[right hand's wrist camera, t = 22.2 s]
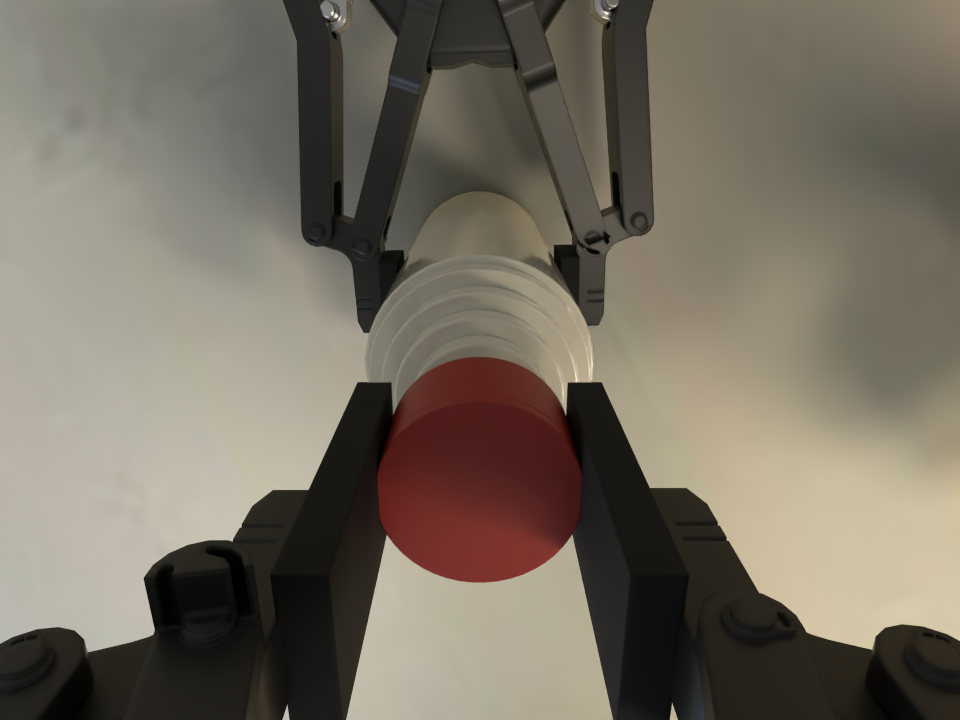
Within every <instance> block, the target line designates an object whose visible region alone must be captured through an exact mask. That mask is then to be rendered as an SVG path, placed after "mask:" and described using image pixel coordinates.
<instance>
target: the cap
mask: <svg viewBox="0 0 960 720" xmlns="http://www.w3.org/2000/svg"><path fill="white" fill-rule="evenodd" d="M377 480H378V496H379V512H380V521H381V524H382V526H383V528H384V530H385V532H386V533H387V535H388V537H389V538H390V539H391V541H392V542H393V544H394V545H395V546H396V547H397V548H398V549H399V550H400V551H401V552H402V553H403V554H404V555H405V556H406V557H407V558H409V559H410V560H411V561H412V562H414V563H415V564H417V565H419V566H420V567H422V568H424V569H426V570H428V571H430V572H432V573H434V574H437V575H439V576H442V577H445V578H449V579H453V580H458V581H465V582H495V581H501V580H506V579H511V578H514V577H517V576H520V575H523V574H525V573H527V572H529V571H532V570H534V569H535V568H537V567H539V566H540V565H542V564H544V563H545V562H546V561H548V560H549V559H550V558H552V557H553V556H554V555H555V554H556V553H557V552H558V551H559V550H560V549H561V548H562V547H563V546H564V545H565V543H566V542H567V541H568V540H569V538H570V537H571V535H572V533H573V532H574V530H575V528H576V526H577V524H578V521H579V516H580V501H581V485H582V470H581V466H580V462H579V459H578V455H577V452H576V448H575V445H574V441H573V438H572V434H571V431H570V427H569V424H568V420H567V417H566V414H565V412H564V409H563V406H562V404H561V403H560V401H559V399H558V397H557V396H556V394H555V393H554V392H553V390H552V389H551V388H550V387H549V386H548V385H547V384H546V383H545V382H544V381H543V380H542V379H541V378H540V377H538V376H537V375H536V374H534V373H533V372H531V371H530V370H528V369H526V368H524V367H522V366H520V365H518V364H515V363H513V362H510V361H506V360H502V359H498V358H491V357H469V358H461V359H457V360H453V361H449V362H447V363H444V364H441V365H439V366H437V367H435V368H433V369H431V370H429V371H428V372H426V373H425V374H424V375H422V376H421V377H419V378H418V379H417V380H416V381H415V382H414V383H413V384H412V385H411V386H410V387H409V388H408V389H407V391H406V392H405V393H404V394H403V396H402V398H401V399H400V401H399V403H398V405H397V407H396V409H395V412H394V414H393V418H392V421H391V425H390V428H389V432H388V435H387V438H386V442H385V445H384V449H383V452H382V456H381V459H380V462H379V466H378V470H377Z"/></svg>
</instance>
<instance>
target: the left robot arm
mask: <svg viewBox="0 0 960 720" xmlns="http://www.w3.org/2000/svg"><path fill="white" fill-rule="evenodd" d="M353 1H354V0H283V2H284V5H285V8H286V11H287V14H288V16H289V19H290V22H291V25H292V28H293V31H294V34H295V37H296V40H297V61H298V102H299V144H300V186H301V227H302V235H303V238H304V239H305V241H306V242H307V243H309V244H310V245H312V246H316V247H319V246H325V247H328V248H331V249H334V250H337V251H340V252H342V253H343V254H345V255H346V256H347V257H348V258H349V259H350V261H351V263H352V267H353V276H354V286H355V295H356V305H357V315H358V323H359V324H360V326H361V328H362V330H363V332H364V333H370V330H371V327H372V325H373V322H374V320H375V317H376V315H377V313H378V311H379V309H380V307H381V306H382V304H383V302H384V300H385V298H386V296H387V294H388V292H389V290H390V288H391V286H392V284H393V283H394V281H395V279H396V277H397V275H398V273H399V271H400V269H401V267H402V265H403V263H404V250H391V251H386V252H385V242H386V240H387V234H388V230H389V226H390V222H391V219H392V215H393V211H394V208H395V204H396V200H397V196H398V193H399V189H400V185H401V182H402V178H403V174H404V171H405V167H406V163H407V159H408V156H409V152H410V148H411V145H412V141H413V137H414V134H415V130H416V126H417V122H418V119H419V115H420V111H421V108H422V104H423V100H424V97H425V94H426V92H427V89H428V85H429V82H430V78H431V75H432V71H433V69H434V70H443V69H455V68H458V67H461V66H464V65H467V64H470V63H476V64H480V65H484V66H488V67H492V68H499V67H512V66H513V69H514V72H515V74H516V77H517V80H518V83H519V86H520V88H521V90H522V93H523V95H524V98H525V101H526V104H527V107H528V110H529V112H530V115H531V118H532V121H533V124H534V127H535V130H536V133H537V136H538V139H539V142H540V144H541V147H542V150H543V153H544V156H545V159H546V162H547V165H548V168H549V171H550V173H551V176H552V179H553V182H554V185H555V188H556V191H557V194H558V197H559V200H560V202H561V205H562V208H563V211H564V214H565V217H566V220H567V223H568V226H569V229H570V231H571V234H572V245H554V261H555V263H556V265H557V267H558V269H559V270H560V272H561V274H562V276H563V278H564V280H565V282H566V284H567V286H568V288H569V290H570V292H571V294H572V296H573V298H574V299H575V301H576V303H577V305H578V307H579V309H580V311H581V313H582V315H583V317H584V319H585V321H586V324H587V326H592V325H599V323H600V321H601V319H602V316H603V314H604V286H605V259H606V254H607V252H608V251H609V250H610V248H611V246H613V245H614V244H615V243H617V242H619V241H621V240H624V239H626V238H629V237H632V236H641V235H644V234H646V233H647V232H649V231H650V230H651V228H652V226H653V223H654V205H653V182H652V159H651V136H650V113H649V90H648V67H647V44H646V26H647V23H648V19H649V15H650V12H651V8H652V4H653V1H654V0H590V13H591V15H592V17H593V19H594V20H596V21H597V22H599V23H601V24H604V26H603V34H602V62H603V78H604V93H605V108H606V124H607V139H608V154H609V169H610V185H611V200H612V206H611V207H608V208H606V209H603V210H601V211H600V208H599V205H598V202H597V199H596V196H595V193H594V189H593V186H592V183H591V180H590V177H589V174H588V171H587V168H586V165H585V162H584V159H583V156H582V153H581V149H580V146H579V143H578V140H577V137H576V134H575V131H574V128H573V125H572V122H571V119H570V116H569V113H568V109H567V106H566V103H565V100H564V97H563V94H562V91H561V88H560V85H559V82H558V78H557V73H556V68H555V64H554V61H553V58H552V55H551V52H550V49H549V46H548V42H547V39H546V36H545V32H546V31H547V29H548V27H549V26H550V24H551V23H552V21H553V20H554V18H555V16H556V15H557V13H558V12H559V10H560V9H561V7H562V6H563V4H564V2H565V1H566V0H370V1H371V3H372V4H373V6H374V7H375V8H376V10H377V11H378V12H379V14H380V15H381V16H382V18H383V19H384V20H385V22H386V23H387V24H388V26H389V27H390V29H391V30H392V31H393V33H394V34H395V35H396V37H397V38H398V39H397V43H396V47H395V51H394V55H393V59H392V63H391V67H390V71H389V78H388V87H387V91H386V95H385V99H384V103H383V107H382V111H381V115H380V119H379V123H378V127H377V131H376V135H375V139H374V143H373V147H372V151H371V155H370V159H369V163H368V167H367V171H366V175H365V179H364V183H363V187H362V191H361V195H360V199H359V203H358V207H357V211H356V215H355V219H354V218H351V217H348V216H345V215H343V51H342V45H341V38H340V33H342V32H344V31H346V30H347V29H348V28H349V26H350V24H351V21H352V10H351V7H352V3H353Z"/></svg>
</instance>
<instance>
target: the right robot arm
mask: <svg viewBox="0 0 960 720" xmlns="http://www.w3.org/2000/svg"><path fill="white" fill-rule="evenodd" d="M566 417H567V420H568V424H569V427H570V431H571V434H572V438H573V441H574V445H575V448H576V452H577V455H578V459H579V462H580V466H581V470H582V485H581V501H580V516H579V521H578V524H577V526H576V528H575V530H574V532H573V533H572V534H573V539H574V543H575V548H576V552H577V557H578V562H579V566H580V571H581V575H582V580H583V584H584V589H585V593H586V598H587V602H588V607H589V611H590V616H591V621H592V625H593V630H594V634H595V639H596V643H597V648H598V652H599V657H600V661H601V666H602V670H603V675H604V680H605V684H606V689H607V693H608V698H609V702H610V707H611V711H612V716H613V720H670V713H671V706H672V703H673V706H674V709H675V712H676V715H677V718H678V720H960V641H959V640H957V639H955V638H953V637H951V636H949V635H947V634H944V633H941V632H938V631H935V630H932V629H929V628H926V627H921V626H912V625H897V626H892V627H887V628H885V629H884V630H882V631H881V632H880V633H879V634H878V635H877V636H876V638H875V642H874V646H873V649H872V650H870V649H866V648H861V647H857V646H853V645H849V644H844V643H840V642H836V641H831V640H827V639H824V638H821V637H817V636H814V635H811V634H809V633H807V632H806V631H805V629H804V627H803V625H802V624H801V622H800V621H799V619H798V618H797V616H796V615H795V614H794V613H793V612H791V611H790V610H789V609H788V608H787V607H785V606H784V605H783V604H782V603H780V602H778V601H776V600H774V599H772V598H770V597H768V596H766V595H764V594H761V593H759V592H758V590H757V589H756V587H755V585H754V583H753V582H752V580H751V578H750V577H749V575H748V573H747V571H746V570H745V568H744V566H743V565H742V563H741V561H740V560H739V558H738V556H737V554H736V553H735V551H734V549H733V548H732V546H731V544H730V542H729V541H727V539H726V538H727V537H726V536H725V534H724V532H723V530H722V529H721V527H720V526H718V522H717V520H716V518H715V517H714V515H713V513H712V512H711V510H710V508H709V506H708V505H707V504H706V503H705V502H704V501H703V500H701V499H700V498H699V497H697V496H696V495H695V494H693V493H692V492H691V491H690V490H688V489H687V488H649V486H648V483H647V481H646V479H645V477H644V475H643V472H642V470H641V468H640V466H639V464H638V461H637V459H636V457H635V455H634V453H633V450H632V448H631V446H630V444H629V442H628V439H627V437H626V435H625V433H624V431H623V428H622V426H621V424H620V422H619V420H618V418H617V415H616V413H615V411H614V409H613V407H612V404H611V402H610V400H609V398H608V396H607V393H606V391H605V389H604V387H603V385H602V382H568V386H567V406H566ZM392 418H393V400H392V382H358V383H357V385H356V387H355V390H354V392H353V394H352V396H351V398H350V400H349V403H348V405H347V407H346V409H345V411H344V414H343V416H342V418H341V420H340V422H339V425H338V427H337V429H336V431H335V433H334V436H333V438H332V440H331V442H330V444H329V447H328V449H327V451H326V453H325V455H324V458H323V460H322V462H321V464H320V466H319V469H318V471H317V473H316V475H315V477H314V480H313V482H312V484H311V486H310V488H309V490H273V491H271V492H270V493H269V494H267V495H266V496H265V497H263V498H262V499H261V500H260V501H258V502H257V503H256V504H254V505H253V506H252V508H251V509H250V511H249V513H248V515H247V516H246V518H245V520H244V521H243V523H242V528H239V530H238V532H237V534H236V535H235V537H234V539H233V542H232V541H228V540H209V541H204V542H199V543H195V544H190V545H187V546H185V547H182V548H180V549H178V550H176V551H173V552H171V553H169V554H167V555H166V556H165V557H163V558H162V559H161V560H159V561H158V562H157V563H155V564H154V565H153V566H152V567H151V569H150V570H149V571H148V573H147V574H146V576H145V577H144V582H145V587H146V591H147V596H148V600H149V605H150V609H151V614H152V619H153V623H154V628H155V632H154V635H152V636H150V637H147V638H144V639H141V640H138V641H134V642H131V643H127V644H122V645H118V646H114V647H110V648H105V649H101V650H97V651H92V652H88V653H87V649H86V645H85V641H84V639H83V638H82V637H81V636H80V635H79V634H78V633H77V632H75V631H74V630H69V629H64V628H59V627H56V628H46V629H37V630H34V631H31V632H27V633H24V634H21V635H18V636H15V637H12V638H11V639H9V640H7V641H5V642H3V643H1V644H0V720H282V719H283V716H284V713H285V710H286V707H287V704H288V711H289V718H290V720H346V717H347V713H348V708H349V703H350V699H351V694H352V690H353V685H354V681H355V676H356V672H357V667H358V663H359V658H360V654H361V649H362V645H363V640H364V635H365V631H366V626H367V622H368V617H369V613H370V608H371V604H372V599H373V595H374V590H375V586H376V581H377V576H378V572H379V567H380V563H381V558H382V554H383V549H384V545H385V540H386V536H387V533H386V532H385V530H384V528H383V526H382V524H381V521H380V512H379V496H378V480H377V470H378V466H379V462H380V459H381V456H382V452H383V449H384V445H385V442H386V438H387V435H388V432H389V428H390V425H391V421H392Z"/></svg>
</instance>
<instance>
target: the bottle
mask: <svg viewBox="0 0 960 720" xmlns="http://www.w3.org/2000/svg"><path fill="white" fill-rule="evenodd" d="M469 357H491V358H498V359H502V360H506V361H510V362H513V363H515V364H518V365H520V366H522V367H524V368H526V369H528V370H530V371H531V372H533V373H534V374H536V375H537V376H538V377H540V378H541V379H542V380H543V381H544V382H545V383H546V384H547V385H548V386H549V387H550V388H551V389H552V390H553V392H554V393H555V394H556V396H557V397H558V399H559V401H560V403H561V404H562V406H563V409H564V412H565V414H566V406H567V386H568V382H592V377H593V367H594V355H593V345H592V340H591V335H590V332H589V329H588V326H587V324H586V321H585V319H584V317H583V315H582V313H581V311H580V309H579V307H578V305H577V303H576V301H575V299H574V298H573V296H572V294H571V292H570V290H569V288H568V286H567V284H566V282H565V280H564V278H563V276H562V274H561V272H560V270H559V269H558V267H557V265H556V263H555V261H554V259H553V257H552V255H551V253H550V251H549V249H548V247H547V245H546V243H545V241H544V239H543V238H542V236H541V234H540V232H539V230H538V228H537V226H536V224H535V222H534V221H533V219H532V218H531V216H530V215H529V214H528V213H527V212H526V211H525V209H524V208H522V207H521V206H520V205H519V204H518V203H516V202H514V201H513V200H511V199H510V198H507V197H505V196H503V195H500V194H497V193H493V192H486V191H474V192H467V193H463V194H459V195H457V196H454V197H452V198H450V199H448V200H447V201H445V202H444V203H442V204H441V205H440V206H438V207H437V208H436V209H435V210H434V211H433V212H432V213H431V215H430V216H429V217H428V219H427V220H426V222H425V223H424V225H423V227H422V229H421V231H420V233H419V235H418V237H417V238H416V240H415V242H414V244H413V246H412V248H411V250H410V252H409V254H408V256H407V258H406V260H405V261H404V263H403V265H402V267H401V269H400V271H399V273H398V275H397V277H396V279H395V281H394V283H393V284H392V286H391V288H390V290H389V292H388V294H387V296H386V298H385V300H384V302H383V304H382V306H381V307H380V309H379V311H378V313H377V315H376V317H375V320H374V322H373V325H372V327H371V330H370V333H369V337H368V341H367V347H366V358H365V359H366V375H367V380H368V382H392V400H393V414H394V412H395V409H396V407H397V405H398V403H399V401H400V399H401V398H402V396H403V394H404V393H405V392H406V391H407V389H408V388H409V387H410V386H411V385H412V384H413V383H414V382H415V381H416V380H417V379H418V378H419V377H421V376H422V375H424V374H425V373H426V372H428V371H429V370H431V369H433V368H435V367H437V366H439V365H441V364H444V363H447V362H449V361H453V360H457V359H461V358H469Z"/></svg>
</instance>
